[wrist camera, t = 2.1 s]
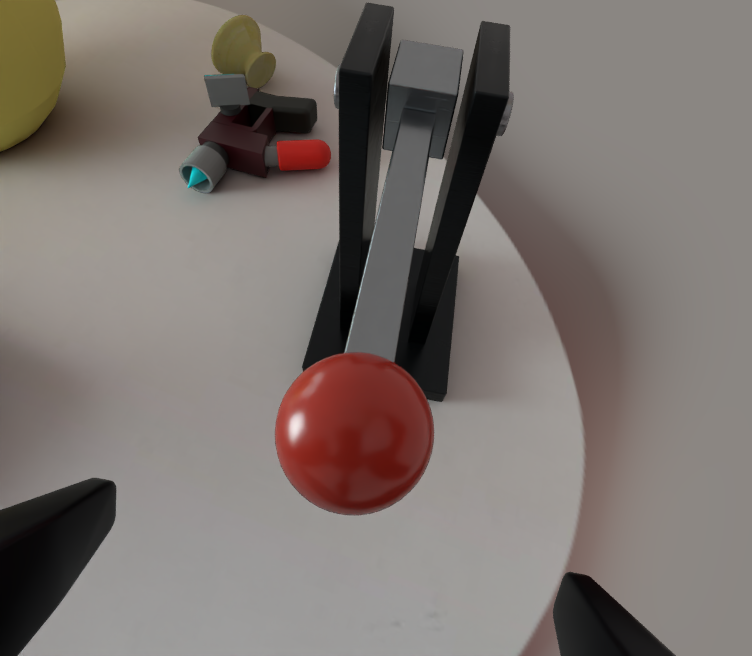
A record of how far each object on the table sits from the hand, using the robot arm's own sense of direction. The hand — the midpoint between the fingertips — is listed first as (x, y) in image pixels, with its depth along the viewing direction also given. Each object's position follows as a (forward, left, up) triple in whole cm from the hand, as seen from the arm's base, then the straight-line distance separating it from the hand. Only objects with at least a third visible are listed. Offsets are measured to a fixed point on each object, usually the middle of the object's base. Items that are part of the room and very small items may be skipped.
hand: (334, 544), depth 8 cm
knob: (+39, +10, -13) cm, 42 cm away
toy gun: (+28, +7, -13) cm, 32 cm away
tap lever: (+8, -1, -1) cm, 8 cm away
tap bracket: (+14, -2, -13) cm, 19 cm away
